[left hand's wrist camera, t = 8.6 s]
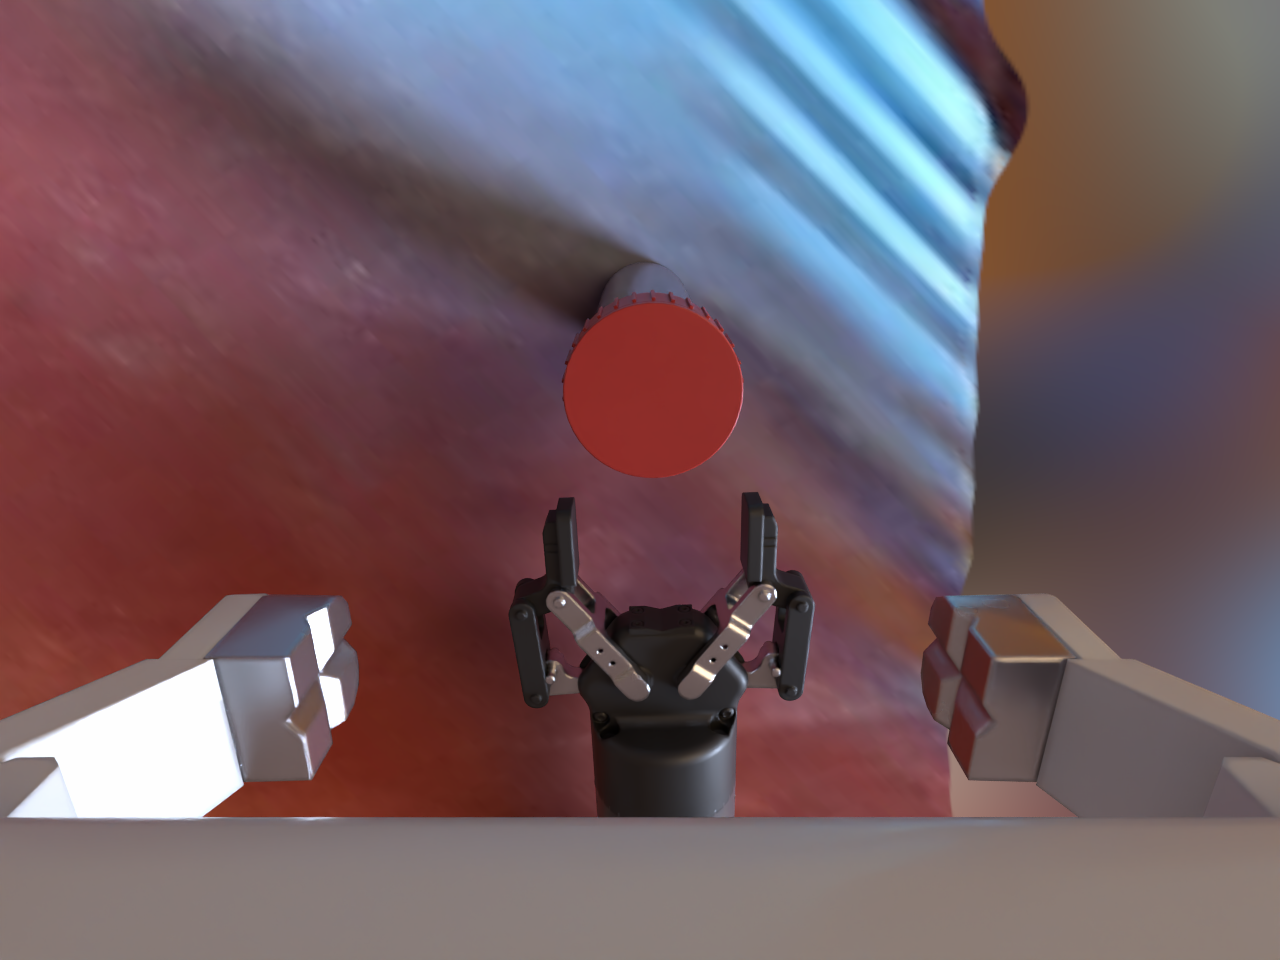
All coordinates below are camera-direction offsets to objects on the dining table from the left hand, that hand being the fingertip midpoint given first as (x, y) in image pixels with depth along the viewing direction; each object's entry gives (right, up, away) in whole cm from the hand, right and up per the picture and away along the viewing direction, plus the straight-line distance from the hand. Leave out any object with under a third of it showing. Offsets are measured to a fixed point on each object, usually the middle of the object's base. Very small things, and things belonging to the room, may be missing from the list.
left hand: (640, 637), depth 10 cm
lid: (0, +5, +11) cm, 12 cm away
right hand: (+1, +1, +23) cm, 23 cm away
